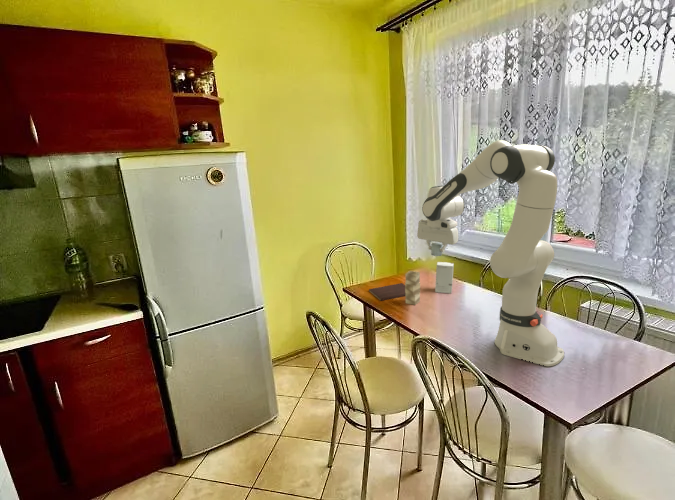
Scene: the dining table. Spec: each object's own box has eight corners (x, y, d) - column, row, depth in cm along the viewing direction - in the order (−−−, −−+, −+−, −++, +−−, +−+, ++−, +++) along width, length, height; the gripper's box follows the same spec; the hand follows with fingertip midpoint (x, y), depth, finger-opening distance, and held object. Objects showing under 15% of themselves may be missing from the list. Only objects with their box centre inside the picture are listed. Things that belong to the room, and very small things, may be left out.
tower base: (419, 301, 179) (419, 292, 178) (414, 305, 175) (414, 295, 174) (410, 299, 182) (410, 290, 181) (405, 303, 178) (405, 293, 177)
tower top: (419, 282, 177) (419, 272, 175) (415, 285, 173) (415, 275, 171) (409, 280, 179) (409, 270, 178) (405, 284, 175) (405, 274, 174)
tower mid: (420, 292, 177) (420, 283, 175) (413, 295, 174) (412, 285, 173) (412, 290, 181) (412, 280, 179) (405, 292, 178) (405, 283, 177)
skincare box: (435, 292, 189) (435, 264, 185) (436, 288, 194) (436, 261, 190) (452, 293, 186) (453, 265, 182) (452, 289, 191) (453, 262, 187)
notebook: (368, 291, 196) (368, 288, 196) (401, 285, 202) (401, 282, 202) (380, 302, 182) (380, 298, 182) (415, 295, 188) (415, 291, 188)
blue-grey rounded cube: (444, 254, 172) (444, 243, 171) (438, 256, 169) (438, 246, 168) (435, 252, 176) (435, 242, 174) (428, 254, 173) (429, 244, 171)
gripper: (414, 220, 174) (414, 248, 178) (452, 225, 159) (451, 256, 162) (422, 217, 178) (422, 245, 181) (460, 222, 162) (459, 253, 166)
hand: (436, 250), depth 172 cm, fingers closed on blue-grey rounded cube, 5 cm apart
